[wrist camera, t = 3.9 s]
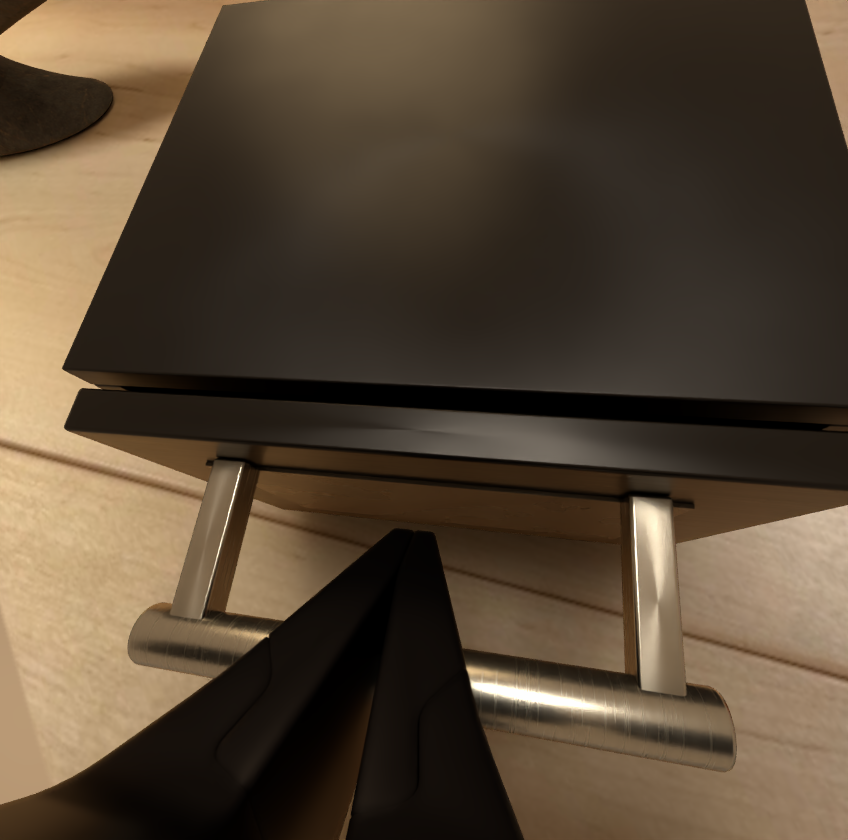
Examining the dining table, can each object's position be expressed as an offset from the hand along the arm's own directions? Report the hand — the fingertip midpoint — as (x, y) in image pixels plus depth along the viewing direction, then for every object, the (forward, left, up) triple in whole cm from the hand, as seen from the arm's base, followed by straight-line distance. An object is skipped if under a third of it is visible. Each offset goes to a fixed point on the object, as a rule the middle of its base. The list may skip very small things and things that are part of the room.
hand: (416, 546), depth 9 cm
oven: (+9, +2, -11) cm, 14 cm away
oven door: (0, 0, -9) cm, 9 cm away
